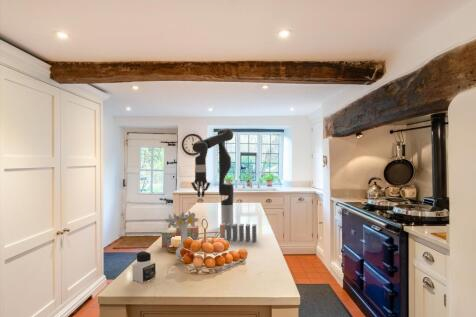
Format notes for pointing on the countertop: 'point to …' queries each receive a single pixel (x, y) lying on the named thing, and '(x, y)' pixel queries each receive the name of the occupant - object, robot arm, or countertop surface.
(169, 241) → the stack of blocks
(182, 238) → the flower vase
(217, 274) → the countertop surface
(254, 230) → the slate domino
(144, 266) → the medicine bottle
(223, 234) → the terracotta domino
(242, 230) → the slate domino
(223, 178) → the robot arm
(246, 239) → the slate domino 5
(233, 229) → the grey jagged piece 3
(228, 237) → the slate domino
